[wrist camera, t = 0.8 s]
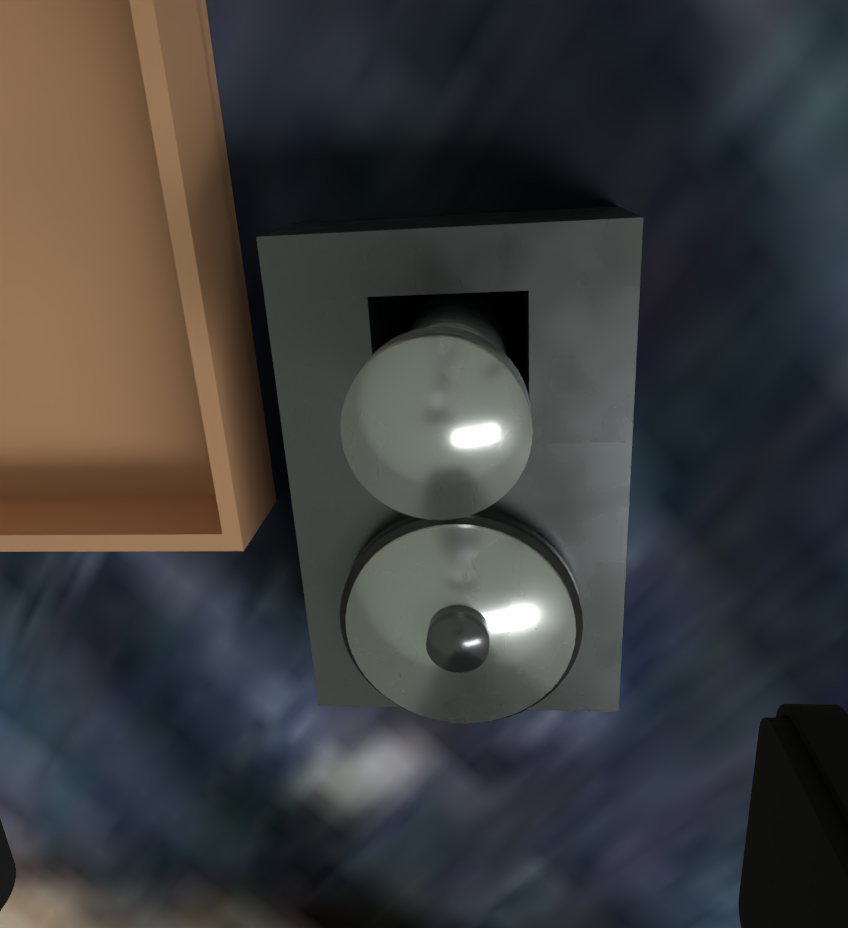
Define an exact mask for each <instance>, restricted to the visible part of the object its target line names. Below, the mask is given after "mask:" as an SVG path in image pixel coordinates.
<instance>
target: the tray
mask: <svg viewBox="0 0 848 928" xmlns="http://www.w3.org/2000/svg"><path fill="white" fill-rule="evenodd" d="M275 503H276V494H275V487H274V480H273V473H272V466H271V459H270V452H269V445H268V437H267V430H266V423H265V416H264V409H263V402H262V395H261V388H260V381H259V374H258V367H257V360H256V353H255V346H254V339H253V332H252V325H251V318H250V311H249V304H248V297H247V290H246V283H245V276H244V269H243V261H242V254H241V247H240V240H239V233H238V226H237V219H236V212H235V205H234V198H233V191H232V184H231V177H230V170H229V163H228V156H227V149H226V142H225V135H224V128H223V121H222V114H221V107H220V100H219V93H218V85H217V78H216V71H215V64H214V57H213V50H212V43H211V36H210V29H209V22H208V15H207V8H206V1H205V0H0V552H7V551H244V550H245V548H246V547H247V545H248V544H249V542H250V541H251V539H252V538H253V536H254V535H255V533H256V532H257V530H258V529H259V527H260V526H261V524H262V523H263V521H264V520H265V518H266V517H267V515H268V514H269V512H270V510H271V509H272V507H273V506H274V504H275Z"/></svg>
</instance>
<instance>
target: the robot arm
mask: <svg viewBox="0 0 848 928" xmlns="http://www.w3.org/2000/svg"><path fill="white" fill-rule="evenodd" d="M15 878H16V868H15V863H14V860H13V857H12V854H11V851H10V848H9V844H8V841H7V838H6V835H5V832H4V829H3V826H2V823H1V820H0V911H1V909H2V908H3V906H4V905H5V903H6V902H7V900H8V898H9V897H10V895H11V892H12V889H13V887H14V883H15ZM739 915H740V922H741V928H848V714H847V713H846V712H845V711H844V709H843V708H842V707H840V706H838V705H817V704H783V705H780V707H779V709H778V711H777V715H776V718H763V719H762V721H761V723H760V727H759V734H758V743H757V751H756V759H755V768H754V776H753V784H752V793H751V801H750V809H749V818H748V826H747V834H746V843H745V851H744V859H743V868H742V876H741V884H740V893H739Z"/></svg>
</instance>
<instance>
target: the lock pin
mask: <svg viewBox="0 0 848 928" xmlns="http://www.w3.org/2000/svg"><path fill="white" fill-rule="evenodd" d="M340 425H341V439H342V445H343V449H344V452H345V455H346V459H347V461H348V463H349V465H350V467H351V469H352V471H353V472H354V474H355V476H356V477H357V479H358V480H359V481H360V482H361V484H362V485H363V486H364V487H365V488H366V489H367V490H368V491H369V492H370V493H371V494H372V495H373V496H374V497H375V498H377V499H378V500H379V501H381V502H382V503H383V504H385V505H387V506H389V507H390V508H392V509H394V510H396V511H399V512H401V513H403V514H406V515H409V516H413V517H416V518H422V519H428V520H450V519H457V518H462V517H466V516H469V515H472V514H475V513H477V512H480V511H482V510H484V509H486V508H488V507H489V506H491V505H492V504H494V503H496V502H497V501H498V500H499V499H501V498H502V497H503V496H504V495H505V494H506V493H507V492H508V491H509V490H510V489H511V488H512V487H513V486H514V484H515V483H516V482H517V480H518V479H519V477H520V476H521V474H522V472H523V470H524V468H525V466H526V463H527V461H528V458H529V455H530V450H531V445H532V435H533V429H532V417H531V407H530V400H529V396H528V391H527V389H526V386H525V383H524V381H523V379H522V377H521V375H520V373H519V371H518V369H517V368H516V367H515V365H514V364H513V362H512V361H511V360H510V359H509V358H508V357H507V356H506V328H505V323H504V320H503V317H502V315H501V313H500V311H499V310H498V308H497V307H496V306H495V305H494V304H493V302H492V301H490V300H489V299H488V298H487V297H485V296H483V295H482V294H480V293H453V294H438V295H436V296H435V297H433V298H432V299H430V300H429V301H428V302H427V303H426V304H425V305H424V307H423V308H422V309H421V311H420V313H419V314H418V316H417V318H416V320H415V322H414V324H413V326H412V327H411V329H410V331H409V332H406V333H404V334H401V335H399V336H397V337H395V338H393V339H391V340H390V341H388V342H387V343H385V344H384V345H383V346H381V347H380V348H379V349H378V350H377V351H376V352H375V353H374V354H373V355H372V356H371V357H370V358H369V360H368V361H367V362H366V363H365V365H364V366H363V368H362V369H361V371H360V372H359V374H358V375H357V377H356V378H355V380H354V381H353V383H352V385H351V387H350V388H349V390H348V393H347V395H346V398H345V400H344V404H343V409H342V414H341V423H340Z"/></svg>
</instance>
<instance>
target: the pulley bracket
mask: <svg viewBox="0 0 848 928" xmlns="http://www.w3.org/2000/svg"><path fill="white" fill-rule="evenodd" d="M642 235H643V217H642V216H639V215H637V214H635V213H632V212H630V211H628V210H625V209H623V208H621V207H618V206H611V207H592V208H573V209H554V210H535V211H516V212H496V213H477V214H458V215H439V216H420V217H401V218H381V219H362V220H343V221H324V222H305V223H298V224H294V225H291V226H288V227H285V228H282V229H279V230H276V231H273V232H270V233H266V234H263V235H260V236H257V237H256V239H257V247H258V254H259V262H260V269H261V276H262V284H263V291H264V299H265V306H266V314H267V321H268V329H269V336H270V344H271V351H272V359H273V366H274V374H275V381H276V389H277V396H278V403H279V411H280V418H281V426H282V433H283V441H284V448H285V456H286V463H287V471H288V478H289V486H290V493H291V501H292V508H293V516H294V523H295V530H296V538H297V545H298V553H299V560H300V568H301V575H302V583H303V590H304V598H305V605H306V613H307V620H308V628H309V635H310V643H311V650H312V657H313V665H314V672H315V680H316V687H317V695H318V702H319V705H335V706H381V707H403V708H404V709H406V710H409V711H411V712H414V713H416V714H419V715H421V716H425V717H428V718H432V719H435V720H441V721H446V722H455V723H480V722H487V721H494V720H498V719H502V718H506V717H509V716H512V715H515V714H517V713H520V712H522V711H524V710H567V711H613V712H619V692H620V672H621V652H622V633H623V613H624V593H625V573H626V553H627V533H628V513H629V493H630V473H631V454H632V434H633V414H634V394H635V374H636V354H637V334H638V314H639V294H640V274H641V255H642ZM502 291H525V386H526V389H527V391H528V396H529V400H530V407H531V417H532V429H533V435H532V445H531V450H530V455H529V458H528V461H527V463H526V466H525V468H524V470H523V472H522V474H521V476H520V477H519V479H518V480H517V482H516V483H515V484H514V486H513V487H512V488H511V489H510V490H509V491H508V492H507V493H506V494H505V495H504V496H503V497H502V498H501V499H499V500H498V501H497V502H496V503H494V504H492V505H491V506H489V507H488V508H486V509H484V510H482V511H480V512H477V513H475V514H472V515H469V516H466V517H462V518H457V519H450V520H428V519H422V518H416V517H413V516H409V515H406V514H403V513H401V512H399V511H396V510H394V509H392V508H390V507H389V506H387V505H385V504H383V503H382V502H381V501H379V500H378V499H377V498H375V497H374V496H373V495H372V494H371V493H370V492H369V491H368V490H367V489H366V488H365V487H364V486H363V485H362V484H361V482H360V481H359V480H358V479H357V477H356V476H355V474H354V472H353V471H352V469H351V467H350V465H349V463H348V461H347V459H346V455H345V452H344V449H343V445H342V439H341V425H340V423H341V414H342V409H343V404H344V400H345V398H346V395H347V393H348V390H349V388H350V387H351V385H352V383H353V381H354V380H355V378H356V377H357V375H358V374H359V372H360V371H361V369H362V368H363V366H364V365H365V363H366V362H367V361H368V360H369V358H370V357H371V356H372V355H373V354H374V353H375V352H376V351H377V350H378V349H379V348H380V347H381V346H383V345H384V344H385V343H387V342H388V341H390V340H391V339H393V338H395V337H396V335H395V321H394V306H393V296H403V295H428V294H453V293H478V292H502Z"/></svg>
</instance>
